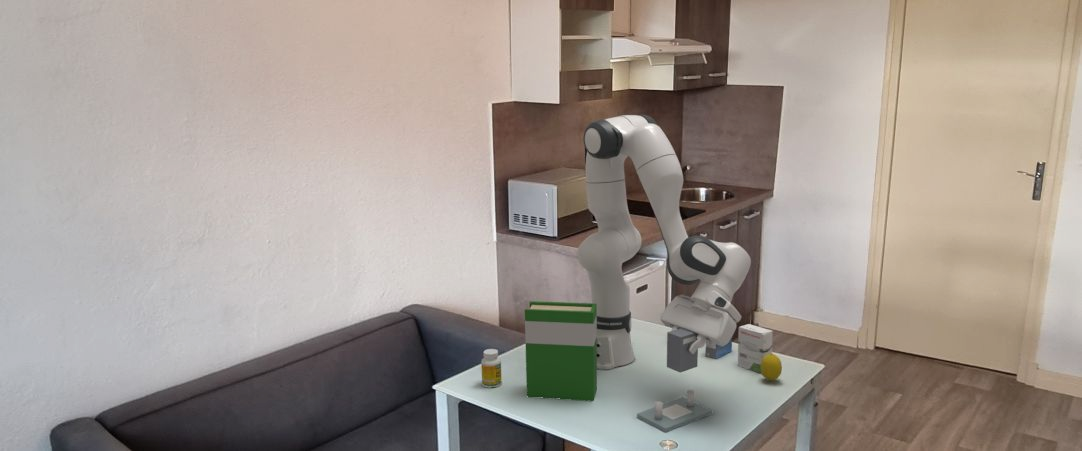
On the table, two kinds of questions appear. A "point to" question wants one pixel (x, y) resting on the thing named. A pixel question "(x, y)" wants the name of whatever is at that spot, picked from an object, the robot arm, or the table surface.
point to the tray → (674, 413)
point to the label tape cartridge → (717, 349)
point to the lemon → (771, 367)
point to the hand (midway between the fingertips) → (680, 348)
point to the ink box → (753, 346)
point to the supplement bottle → (491, 368)
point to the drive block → (681, 350)
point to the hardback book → (561, 350)
